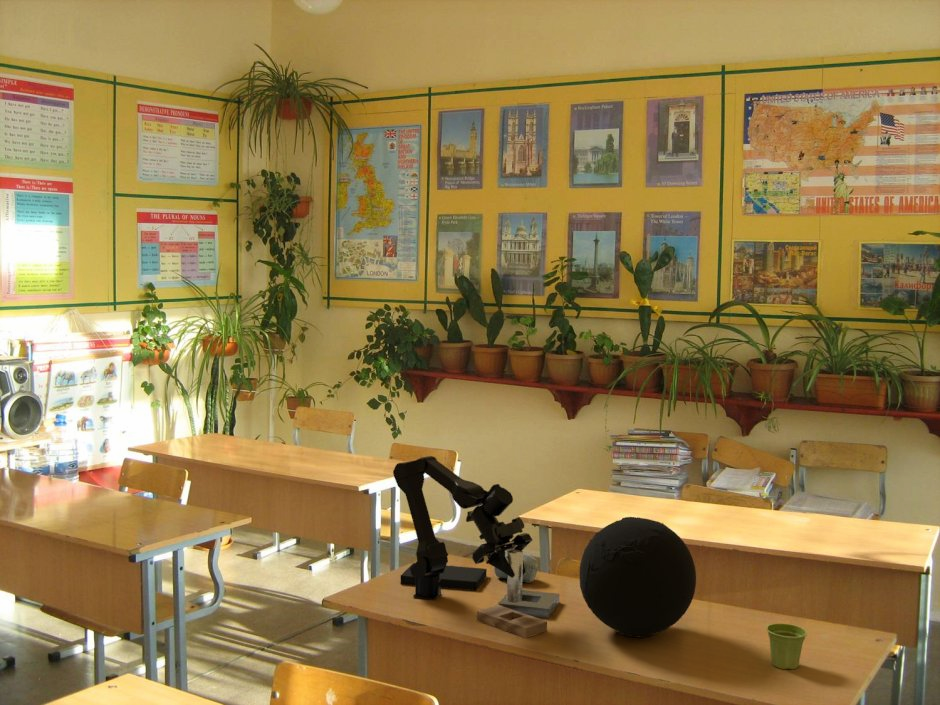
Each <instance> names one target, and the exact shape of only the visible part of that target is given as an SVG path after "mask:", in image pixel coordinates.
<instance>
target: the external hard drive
mask: <svg viewBox="0 0 940 705" xmlns="http://www.w3.org/2000/svg"><path fill="white" fill-rule="evenodd" d="M415 563H416V562H413V563H411V565H410V566H408V568H406V570H405V571H404V572H402V574H401V575H400V585H404V586H405V585H406V586H407V585H408V586H415V584H416V577H414V576H412V575H411V571H410V568H411V567H412V566H413V565H414V564H415ZM487 571H488V570H487V568H479V567H469V566H467V567H466V566H456V565H454V566H453V565H446V567H445V570H444V573H441V574H440V579H441V589H451V590H464V591H465V590H466V591H478V589H479V588H480V587H481V586H482V584H483V582H484V581H485V580H486V579H487Z"/></svg>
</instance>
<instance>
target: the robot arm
mask: <svg viewBox="0 0 940 705" xmlns="http://www.w3.org/2000/svg"><path fill="white" fill-rule="evenodd" d="M425 474H426V475H428V476H429V477H430V478H431V479H433V481H435V482H436V483H437V484H439V485H440V486H442V487H443V488H444V489H446V490H447V491H448V492H449V493H450V494H451V496H452V500H453V501H454V502H455V503H456V505H458V506H459V507H460V508H461V509H464V510H465V509H471V508H474V509H473V510H470V511H467V514H466V518H465V521H466V523H470V522H474V525H475V526H476V528H477V530H478V531H479V532H480V535H479V536H478V538H479V539H480V540H485V541H484V542H485V543H483V544H480V545H479V546H478V547H477V548H476V549H475V550H474V551H473V552H472V554H471V558H472V561H473V563H475V565H477V564H481V563H484V562H485V564H487V565H491V566H492V567H496V568H497V569H499V570H501V571H502V572H504V573H505V574H507V575H508V576H510V577H511V578H513V577H514V576H515V574H514V572H513V570H512V568H511V566H510V564H509V563H508V561H507V559H508V556H507V557H505V552H507V553H508V551H509V550H520V551H523V550H524V549H525V548H526V547H527V546H529V544H530V543H532V542H533V538H532V537H531V535H530V533H527V532H524V531H523V529H524V528H525V523H524V520H523V519H522V518H521V517H520V516H519V517H515V518H513V519H511V522H508V523H505V522H504V521H499V520H498V519H497V517H499V516H501V515H502V514H503V513H504V512H505V510H506V509H508V507H510V505H511V504H512V503H514V502H513V501H514V498H513V495H512V493H511V492H510V491H509V490H507V489H506V488H504V487H502V486H501V485H500V484H499V483H496V484H493V485H492V486H491V487H490V489H488V490H487V489H486V490H485V488H483V487H482V485H480V484H478V483H475V482H473V481H470V480H465V479H463V478H462V477H460V476H459V475H457V474H456V473H455V472H453V471H452V470H450V469H449V468H448V467H446V466H445V465H444V464H443V463H441V462H440V461H439V460H438V459H437V458H436V456H432V455H428V456H421V457H420V458H417V459H416V460H409V461H403V462H397V463H396V464H395V466H394V469H393V478H394V481H395V483H396V485H397V487H398V488H399V489H400V490H401V491H402V492H403V493H404V494H405V497H406V501H407V504H408V507H409V508H408V509H409V513H410V516H411V519H412V523H413V527H414V531H415V535H416V537H417V538H416V539H417V541H418V544H417V547H416V553H415V554H416V555H415V556H416V561H415V562H414V563H415V564H414V565H413V566H412V567H411V568H410V571H411V575H412V576H414V577H416V584H415V585H414V586H415V588H414V590H415V593H414V594H413V598H418V599H425V600H426V599H427V600H436V599H437V598H438V597H439V596H440V595H441V594H442V588H441V579H440V574H441V573H444V570H445V567H446V566H447V563H449V559H448V558H449V557H448V556H449V553H448V551H447V548H446V547H447V546H446V544H445V542H444V541H441V542H440V541H439V540H438V539H437V538H436V536H435V535H436V534H435V531H434V528H433V524H432V521H431V516H430V514H429V513H430V512H429V510H428V507H427V502H426V499H425V495H424V491H423V486H424V483H425ZM523 532H524V533H523ZM519 533H520V534H519ZM516 534H517V535H516ZM514 535H516V536H514ZM486 556H487V560H486V561H485V557H486ZM506 558H507V559H506ZM525 572H526V571H525V567H524V562H523V574H525Z"/></svg>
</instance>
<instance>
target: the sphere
mask: <svg viewBox="0 0 940 705" xmlns="http://www.w3.org/2000/svg"><path fill="white" fill-rule="evenodd" d="M578 571H579V573H578V574H579V587H580V591H581V594H582V598H583V599H584V601H585V603H586V605H587V608H589V610H590V611H591V612H592V614H594V616H595V617H596V618H598V621H601V622H602V623H603V624H604V625H606V626H607V627H608V628H610V629H613V630H614V631H616V632H619V633H620V634H622V635H623V636H624V635H626V636H629V637H633V638H642V637H643V638H645V637H649V636H650V637H651V636H652V635H655V634H658V633H661V632H663V631H665V630H667V629H669V628H670V627H672V626H673V625H675V624H676V623H678V622H679V621H680V619H681V618H683V616H684V615H685V614H686V612H687V611H688V610H689V608H690V606H691V603H692V602H693V598H694V596H695V592H696V588H697V571H696V565H695V562H694V559H693V555H692V554H691V551H690V550H689V547H688V546H687V545H686V543H685V542H684V541H683V539H682V538H681V537H680V536H679V535H678V534H677V533H676V532H675V531H674V530H673V529H671V528H669V526H667V525H666V524H664V522H660V521H657V520H653V519H649V518H644V517H639V516H637V517H635V516H627V517H622V518H621V519H619V520H615V521H614V522H611V523H609V524H607V525H606V526H604V527H603V528H602V529H601V530H599V531H597V532H596V533H595V534H594V535H593V537H592V538H591V539H589V542H588V544H587V545H586V546H585V548H584V550H583V554H582V556H581V560H580V565H579V570H578Z"/></svg>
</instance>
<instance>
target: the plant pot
mask: <svg viewBox="0 0 940 705" xmlns="http://www.w3.org/2000/svg"><path fill="white" fill-rule="evenodd" d="M766 631H767V635H768V639H769V646H770V648H769V649H770V658H771V664H772V665H773V666H774V667H776V668H778V669H782V670H788V669H789V670H790V669H791V670H795V669H798V667H799V664H800V658H801V654H802V649H803V644H804V642H805V639H806V636H807V635H808V631H807V629H805V627H804V628H803V627H801V626H799V625H796V624H792V623H786V622H785V623H783V622H779V623H771V624H768V625H766Z"/></svg>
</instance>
